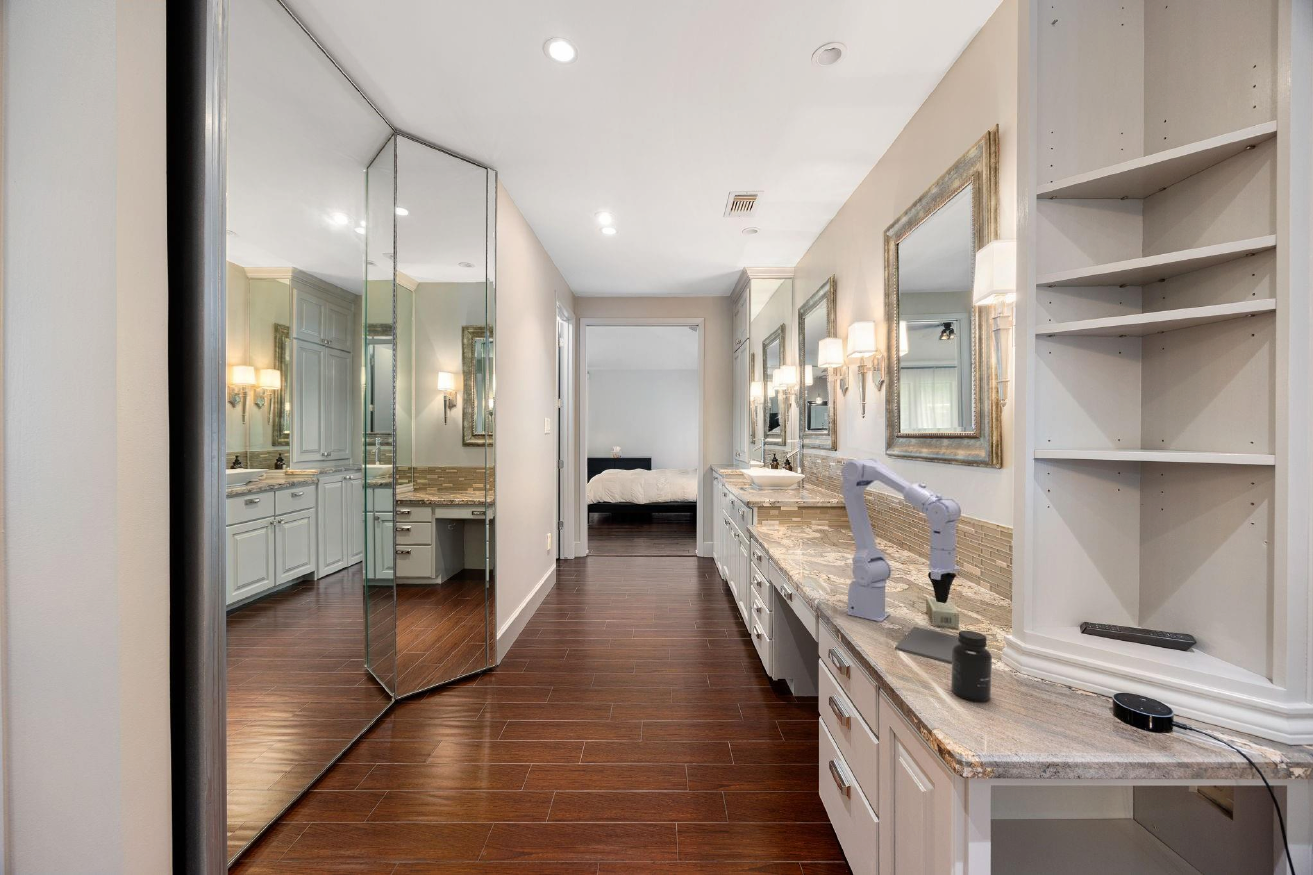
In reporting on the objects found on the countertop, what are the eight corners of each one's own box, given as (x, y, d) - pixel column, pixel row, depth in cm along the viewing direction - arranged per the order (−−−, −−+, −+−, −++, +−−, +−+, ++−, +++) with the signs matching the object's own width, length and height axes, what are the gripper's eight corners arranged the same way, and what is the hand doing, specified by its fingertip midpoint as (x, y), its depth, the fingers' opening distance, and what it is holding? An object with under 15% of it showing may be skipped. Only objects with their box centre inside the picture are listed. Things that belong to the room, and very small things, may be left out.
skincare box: (959, 629, 142) (951, 614, 153) (959, 613, 142) (951, 599, 153) (931, 626, 144) (925, 611, 156) (932, 610, 144) (926, 596, 156)
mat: (894, 649, 129) (895, 646, 129) (914, 628, 142) (914, 626, 142) (961, 666, 120) (961, 663, 120) (975, 642, 134) (975, 640, 133)
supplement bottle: (990, 706, 103) (992, 644, 103) (950, 696, 107) (951, 636, 106) (991, 691, 109) (992, 632, 108) (952, 682, 112) (953, 625, 112)
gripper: (954, 555, 127) (953, 613, 127) (966, 545, 138) (965, 598, 138) (921, 551, 131) (920, 606, 132) (935, 541, 143) (935, 592, 143)
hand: (941, 601), depth 135 cm, fingers closed
